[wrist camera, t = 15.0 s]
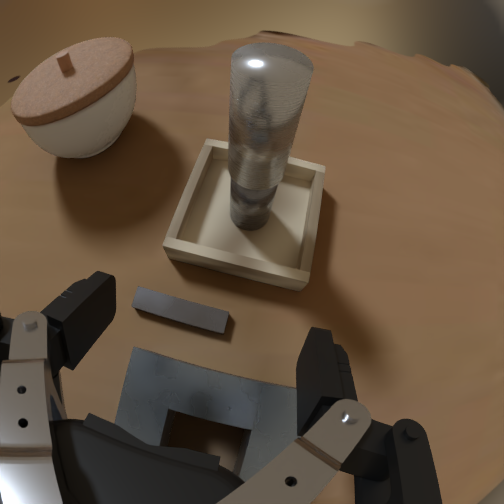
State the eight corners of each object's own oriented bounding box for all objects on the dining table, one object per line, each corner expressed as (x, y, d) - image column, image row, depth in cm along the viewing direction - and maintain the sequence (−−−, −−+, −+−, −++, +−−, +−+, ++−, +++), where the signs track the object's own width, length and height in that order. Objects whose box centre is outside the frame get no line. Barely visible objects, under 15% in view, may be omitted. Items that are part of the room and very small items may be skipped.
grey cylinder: (221, 227, 23) (220, 72, 10) (233, 189, 25) (243, 38, 12) (266, 238, 23) (309, 90, 10) (275, 199, 25) (316, 52, 12)
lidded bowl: (167, 104, 29) (156, 20, 19) (107, 192, 25) (61, 103, 14) (86, 94, 30) (63, 26, 20) (26, 168, 25) (-19, 101, 15)
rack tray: (168, 258, 23) (162, 245, 20) (207, 156, 27) (207, 138, 24) (300, 291, 23) (308, 282, 20) (317, 182, 27) (325, 166, 24)
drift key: (136, 309, 21) (131, 306, 20) (142, 290, 22) (138, 286, 21) (223, 335, 21) (223, 333, 20) (228, 314, 22) (229, 311, 21)
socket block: (120, 477, 16) (101, 494, 12) (149, 350, 20) (133, 346, 16) (261, 513, 16) (268, 537, 12) (296, 388, 20) (312, 391, 16)
